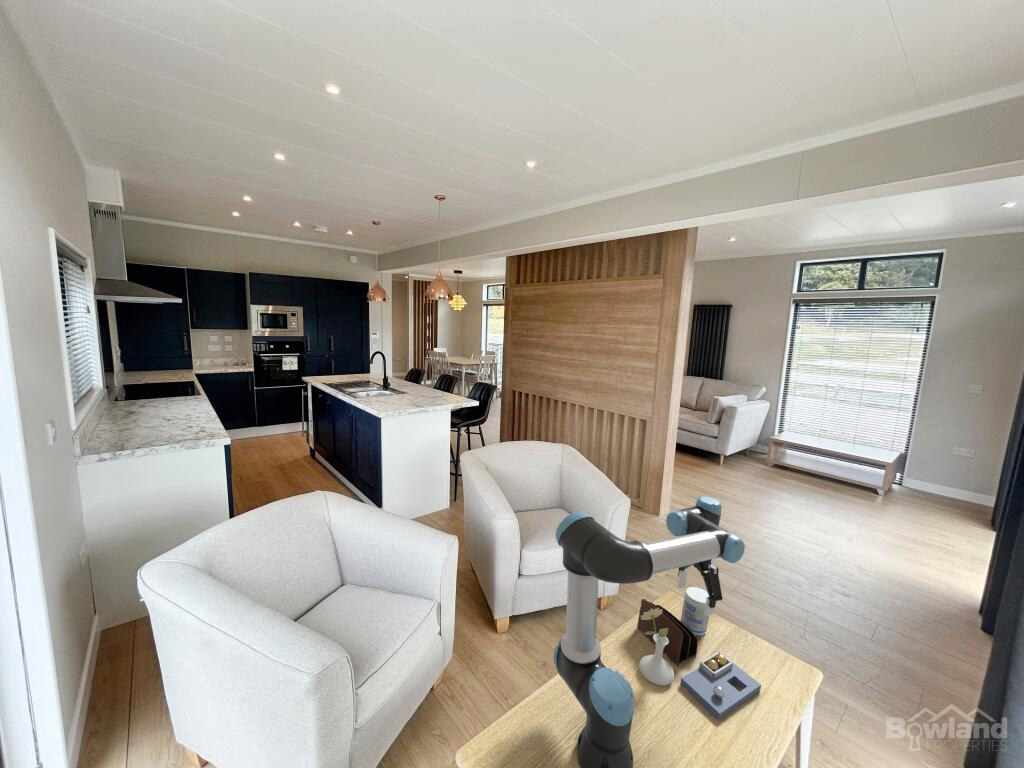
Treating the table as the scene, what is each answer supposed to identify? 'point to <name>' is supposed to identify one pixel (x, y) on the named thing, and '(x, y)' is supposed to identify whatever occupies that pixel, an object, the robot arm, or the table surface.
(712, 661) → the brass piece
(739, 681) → the deck
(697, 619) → the supplement tub
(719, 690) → the steel ball
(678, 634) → the letter holder
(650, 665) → the flower in vase
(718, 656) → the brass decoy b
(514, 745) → the table surface
